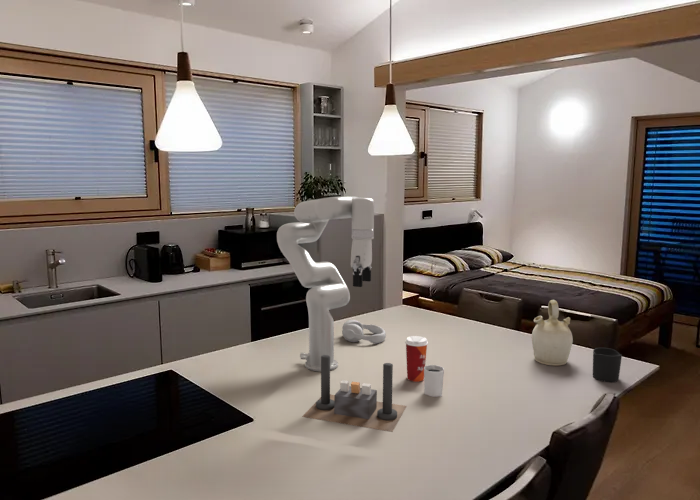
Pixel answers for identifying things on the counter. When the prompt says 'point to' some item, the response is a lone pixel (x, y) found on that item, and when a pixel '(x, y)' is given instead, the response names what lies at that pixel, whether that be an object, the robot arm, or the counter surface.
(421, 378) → the coffee cup
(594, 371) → the pen holder
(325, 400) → the cord post left
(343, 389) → the paddle left
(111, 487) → the counter surface
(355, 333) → the headphones
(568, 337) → the jug
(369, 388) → the paddle right
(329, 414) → the breaker panel
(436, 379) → the white cup
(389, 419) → the cord post right
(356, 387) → the paddle middle
